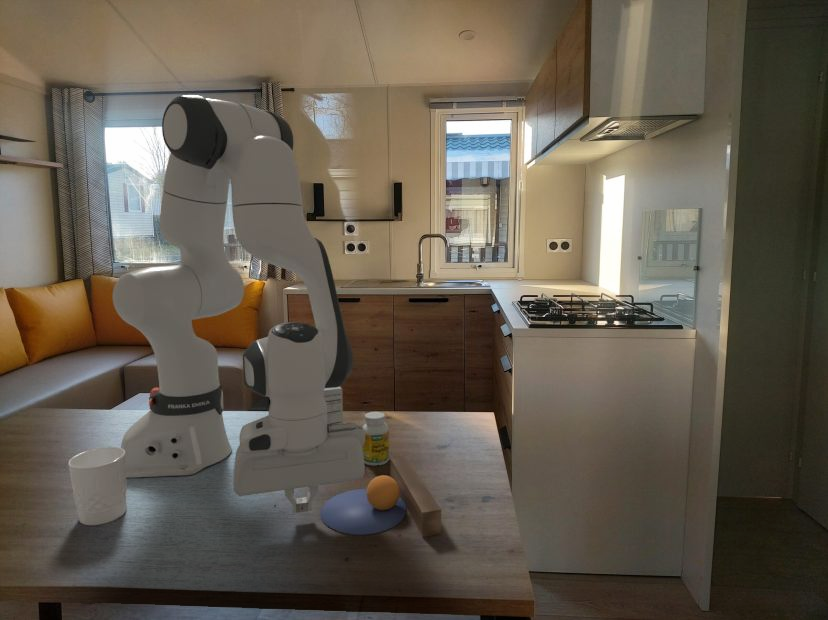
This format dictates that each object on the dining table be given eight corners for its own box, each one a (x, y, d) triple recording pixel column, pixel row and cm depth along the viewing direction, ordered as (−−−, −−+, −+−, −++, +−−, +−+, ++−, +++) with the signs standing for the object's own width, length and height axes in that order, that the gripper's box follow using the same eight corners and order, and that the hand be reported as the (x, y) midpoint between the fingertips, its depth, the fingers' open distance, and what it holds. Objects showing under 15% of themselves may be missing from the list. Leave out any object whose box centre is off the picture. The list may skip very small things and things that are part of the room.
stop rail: (422, 537, 81) (422, 512, 80) (390, 477, 100) (390, 457, 99) (441, 533, 82) (441, 509, 81) (405, 475, 101) (405, 455, 100)
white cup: (70, 532, 82) (63, 471, 81) (79, 508, 89) (73, 451, 88) (128, 521, 85) (122, 462, 84) (132, 498, 92) (127, 443, 91)
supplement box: (301, 438, 119) (299, 383, 117) (333, 432, 122) (332, 378, 120) (310, 450, 112) (308, 392, 110) (344, 443, 115) (343, 387, 113)
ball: (401, 515, 87) (368, 517, 86) (392, 500, 92) (361, 501, 91) (405, 483, 87) (372, 483, 85) (396, 469, 92) (365, 470, 90)
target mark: (326, 541, 80) (326, 540, 80) (316, 496, 93) (316, 495, 93) (416, 526, 84) (416, 525, 84) (394, 485, 97) (394, 484, 97)
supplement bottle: (380, 452, 111) (380, 408, 109) (394, 462, 106) (393, 416, 105) (357, 459, 108) (356, 413, 106) (370, 469, 103) (369, 421, 102)
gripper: (360, 414, 89) (362, 492, 91) (231, 427, 83) (236, 510, 86) (368, 428, 83) (369, 510, 85) (229, 443, 77) (234, 531, 80)
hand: (301, 510), depth 85 cm, fingers closed
